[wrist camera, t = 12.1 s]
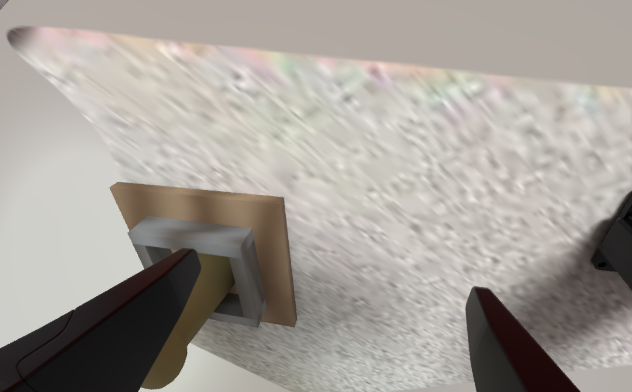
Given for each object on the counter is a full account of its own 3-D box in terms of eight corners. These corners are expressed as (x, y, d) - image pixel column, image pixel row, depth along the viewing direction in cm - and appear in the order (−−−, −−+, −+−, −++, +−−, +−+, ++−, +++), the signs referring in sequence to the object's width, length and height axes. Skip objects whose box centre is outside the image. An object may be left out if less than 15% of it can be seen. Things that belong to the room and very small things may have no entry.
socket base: (283, 197, 25) (268, 223, 22) (297, 319, 34) (287, 349, 31) (117, 181, 28) (86, 203, 25) (168, 296, 37) (149, 322, 34)
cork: (194, 230, 28) (98, 341, 19) (250, 264, 29) (184, 386, 20) (175, 264, 31) (87, 371, 22) (226, 293, 32) (160, 409, 23)
